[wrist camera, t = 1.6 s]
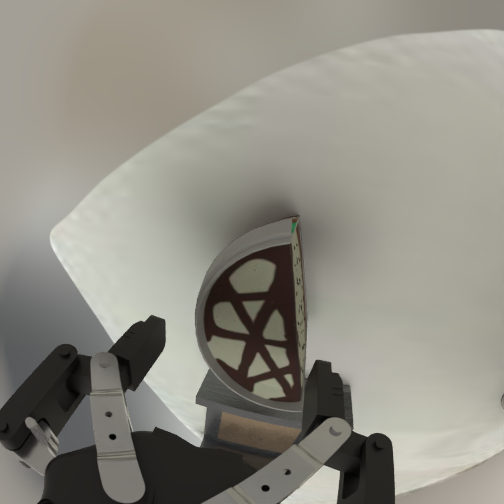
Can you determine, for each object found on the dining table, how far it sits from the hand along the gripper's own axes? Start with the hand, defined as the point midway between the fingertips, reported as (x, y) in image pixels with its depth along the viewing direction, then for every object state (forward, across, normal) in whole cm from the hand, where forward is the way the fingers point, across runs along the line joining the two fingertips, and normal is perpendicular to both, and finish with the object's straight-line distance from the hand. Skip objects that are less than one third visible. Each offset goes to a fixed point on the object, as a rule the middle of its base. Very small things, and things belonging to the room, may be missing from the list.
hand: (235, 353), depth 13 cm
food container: (+11, 0, 0) cm, 11 cm away
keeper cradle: (+11, -4, +20) cm, 23 cm away
